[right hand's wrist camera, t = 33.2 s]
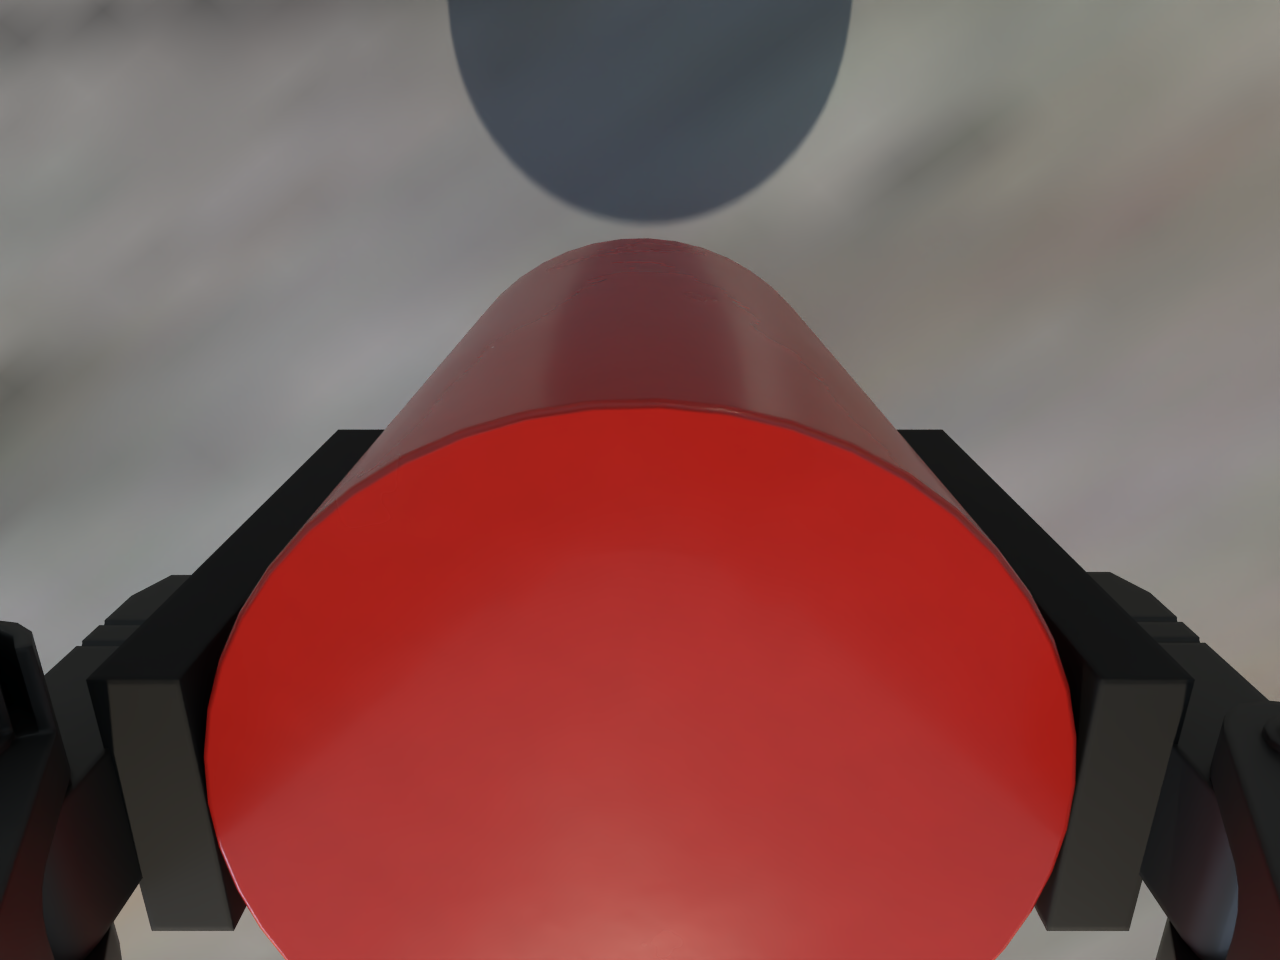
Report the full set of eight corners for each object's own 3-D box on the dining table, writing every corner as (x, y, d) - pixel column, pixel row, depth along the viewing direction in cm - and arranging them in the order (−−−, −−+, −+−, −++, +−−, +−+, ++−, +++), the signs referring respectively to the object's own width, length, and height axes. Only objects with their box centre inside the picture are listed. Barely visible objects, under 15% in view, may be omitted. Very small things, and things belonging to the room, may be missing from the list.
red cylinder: (394, 289, 16) (43, 518, 7) (800, 194, 16) (1053, 296, 6) (507, 636, 19) (371, 1157, 9) (858, 566, 18) (1098, 1046, 9)
